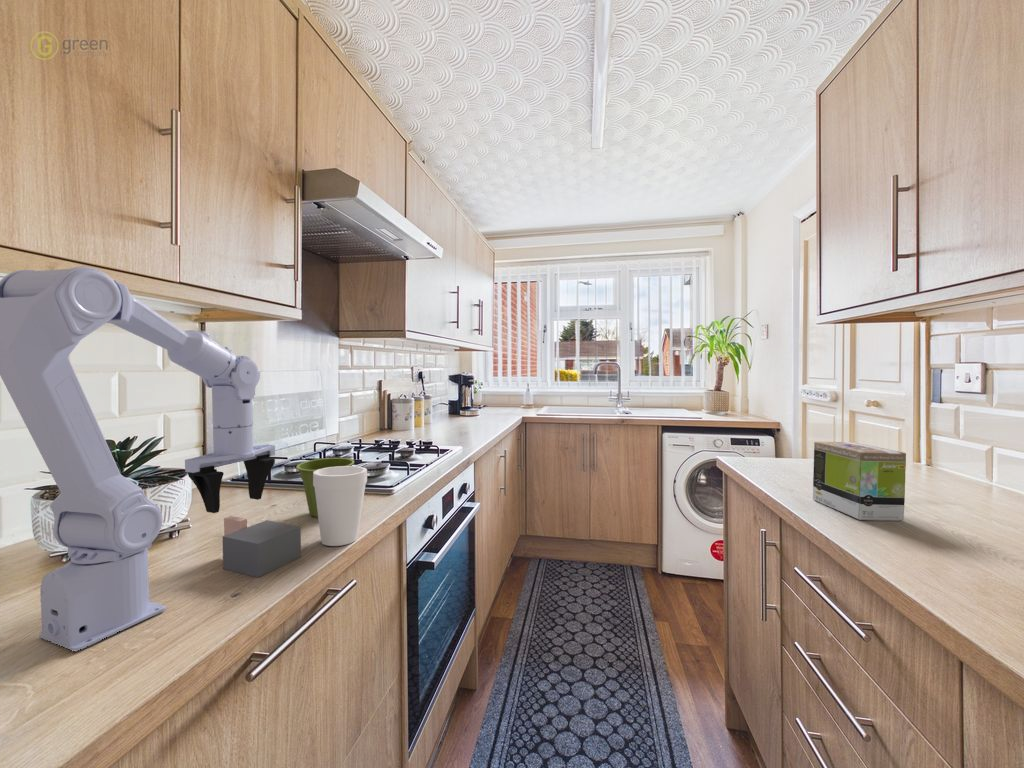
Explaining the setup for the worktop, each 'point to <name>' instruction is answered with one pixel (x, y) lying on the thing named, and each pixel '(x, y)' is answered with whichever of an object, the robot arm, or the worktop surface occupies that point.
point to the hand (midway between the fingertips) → (235, 504)
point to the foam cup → (339, 502)
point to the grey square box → (261, 548)
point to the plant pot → (307, 477)
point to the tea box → (860, 480)
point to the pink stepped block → (234, 524)
